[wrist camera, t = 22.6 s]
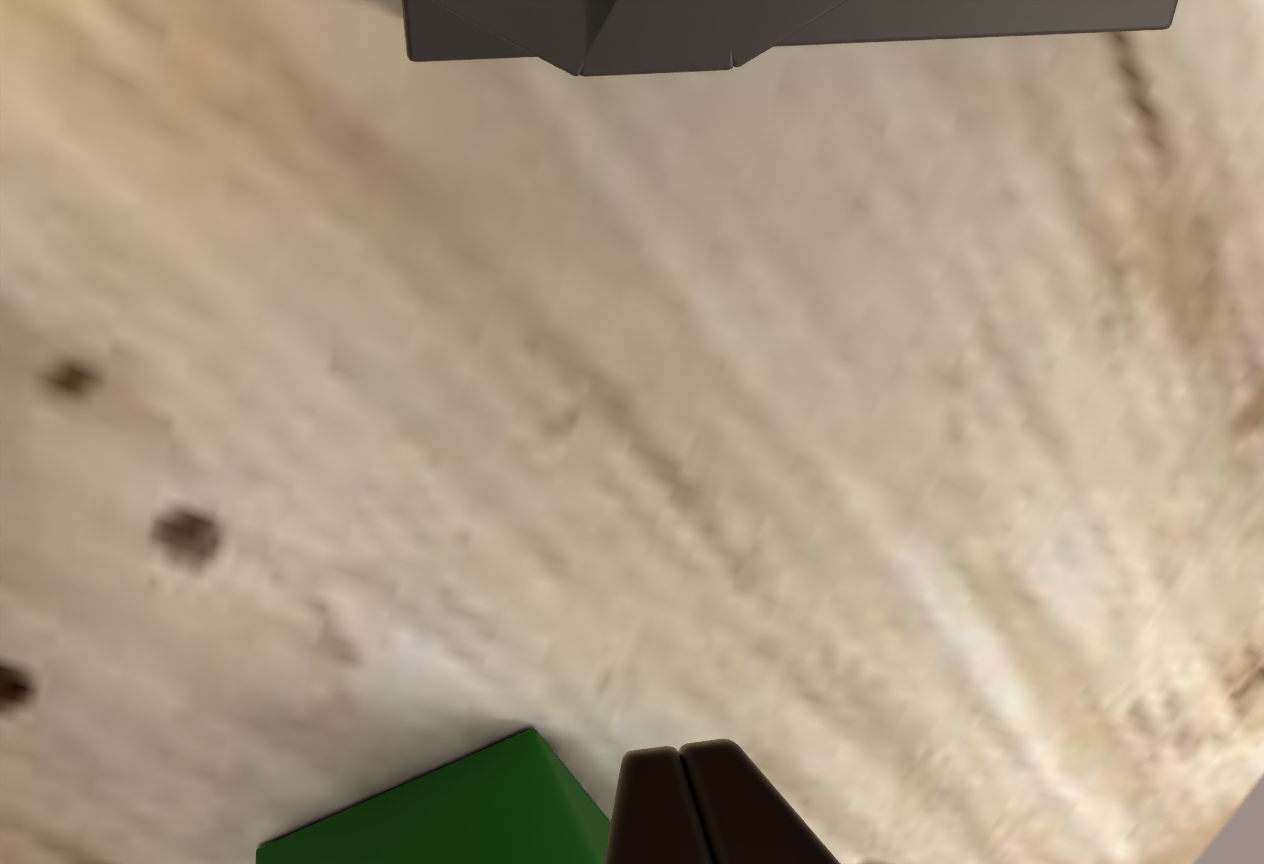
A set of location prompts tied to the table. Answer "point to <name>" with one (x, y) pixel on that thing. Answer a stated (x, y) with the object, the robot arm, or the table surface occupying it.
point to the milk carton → (464, 817)
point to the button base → (733, 27)
